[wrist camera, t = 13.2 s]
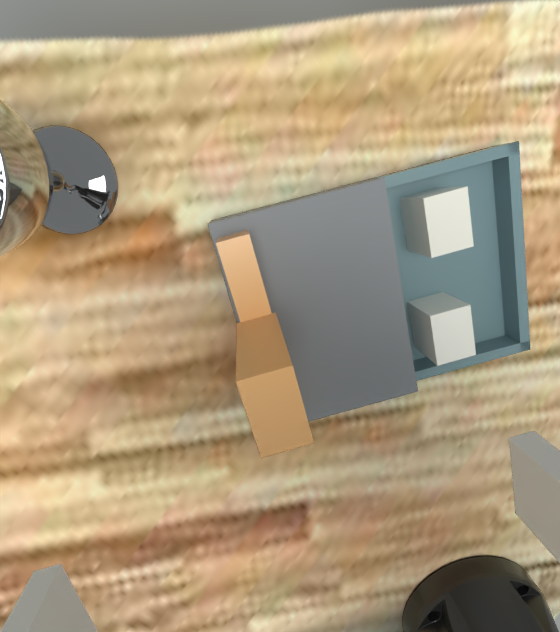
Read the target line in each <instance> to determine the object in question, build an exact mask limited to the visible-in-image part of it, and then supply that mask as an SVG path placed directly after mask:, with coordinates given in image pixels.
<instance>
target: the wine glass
mask: <svg viewBox="0 0 560 632" xmlns="http://www.w3.org/2000/svg"><path fill="white" fill-rule="evenodd" d="M117 195H118V182H117V176H116V172H115V168H114V166H113V164H112V162H111V160H110V158H109V157H108V155H107V154H106V152H105V151H104V150H103V148H102V147H101V146H100V145H99V144H98V143H97V142H96V141H94V140H93V139H92V138H91V137H89V136H88V135H86V134H84V133H83V132H81V131H78V130H76V129H73V128H70V127H65V126H46V127H41V128H39V129H36V130H33V131H32V129H31V128H30V127H29V126H28V125H27V123H26V122H25V121H24V120H23V119H22V118H21V117H20V116H19V115H18V114H17V113H16V112H15V111H14V110H13V109H12V108H11V107H10V106H9V105H7V104H6V103H5V102H3V101H2V100H1V99H0V258H1V257H3V256H4V255H6V254H8V253H10V252H11V251H13V250H14V249H16V248H18V247H19V246H21V245H22V244H23V243H24V242H25V241H27V240H28V239H29V238H30V237H31V236H32V235H33V234H34V233H35V232H36V231H37V230H38V229H39V228H40V226H43V227H45V228H47V229H49V230H52V231H55V232H58V233H64V234H79V233H85V232H88V231H90V230H93V229H95V228H96V227H98V226H100V225H101V224H102V223H103V222H104V221H105V220H106V219H107V218H108V217H109V215H110V214H111V213H112V211H113V208H114V206H115V204H116V200H117Z"/></svg>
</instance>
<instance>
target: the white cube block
mask: <svg viewBox="0 0 560 632" xmlns="http://www.w3.org/2000/svg"><path fill="white" fill-rule="evenodd" d="M407 304H408V310H409V316H410V322H411V328H412V334H413V340H414V346H415V347H416V348H417V349H418V350H419V351H421V352H422V353H423V354H424V355H425V356H426V357H428V358H429V359H430V360H431V361H432V362H434V363H435V364H436V365H437V366H439V365H442V364H446V363H449V362H453V361H456V360H460V359H463V358H467V357H470V356H474V355H476V350H475V341H474V332H473V324H472V315H471V306H470V304H468V303H465V302H463V301H461V300H459V299H457V298H455V297H453V296H450V295H448V294H446V293H444V292H441V293H437V294H433V295H430V296H426V297H423V298H419V299H416V300H412V301H408V302H407Z"/></svg>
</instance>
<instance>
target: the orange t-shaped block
mask: <svg viewBox="0 0 560 632" xmlns="http://www.w3.org/2000/svg"><path fill="white" fill-rule="evenodd" d="M216 246H217V249H218V252H219V255H220V258H221V262H222V265H223V268H224V271H225V274H226V278H227V281H228V284H229V287H230V290H231V294H232V297H233V300H234V303H235V307H236V310H237V313H238V316H239V319H240V323H237V327H236V384H237V387H238V390H239V393H240V396H241V399H242V402H243V405H244V408H245V411H246V414H247V417H248V420H249V423H250V426H251V429H252V432H253V435H254V438H255V441H256V444H257V447H258V450H259V453H260V456H261V458H264V457H268V456H271V455H274V454H278V453H281V452H285V451H288V450H292V449H295V448H299V447H302V446H305V445H309V444H312V443H314V440H313V437H312V433H311V429H310V426H309V422H308V419H307V415H306V411H305V408H304V404H303V401H302V397H301V393H300V390H299V386H298V383H297V379H296V375H295V372H294V368H293V365H292V362H291V359H290V355H289V352H288V349H287V346H286V343H285V340H284V337H283V334H282V330H281V327H280V324H279V321H278V318H277V315H276V313H271V309H270V305H269V302H268V298H267V295H266V291H265V288H264V284H263V281H262V277H261V274H260V270H259V267H258V263H257V260H256V256H255V253H254V249H253V245H252V242H251V238H250V235H249V231H248V230H245V231H241V232H238V233H234V234H231V235H227V236H223V237H220V238H218V240H217V242H216Z"/></svg>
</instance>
